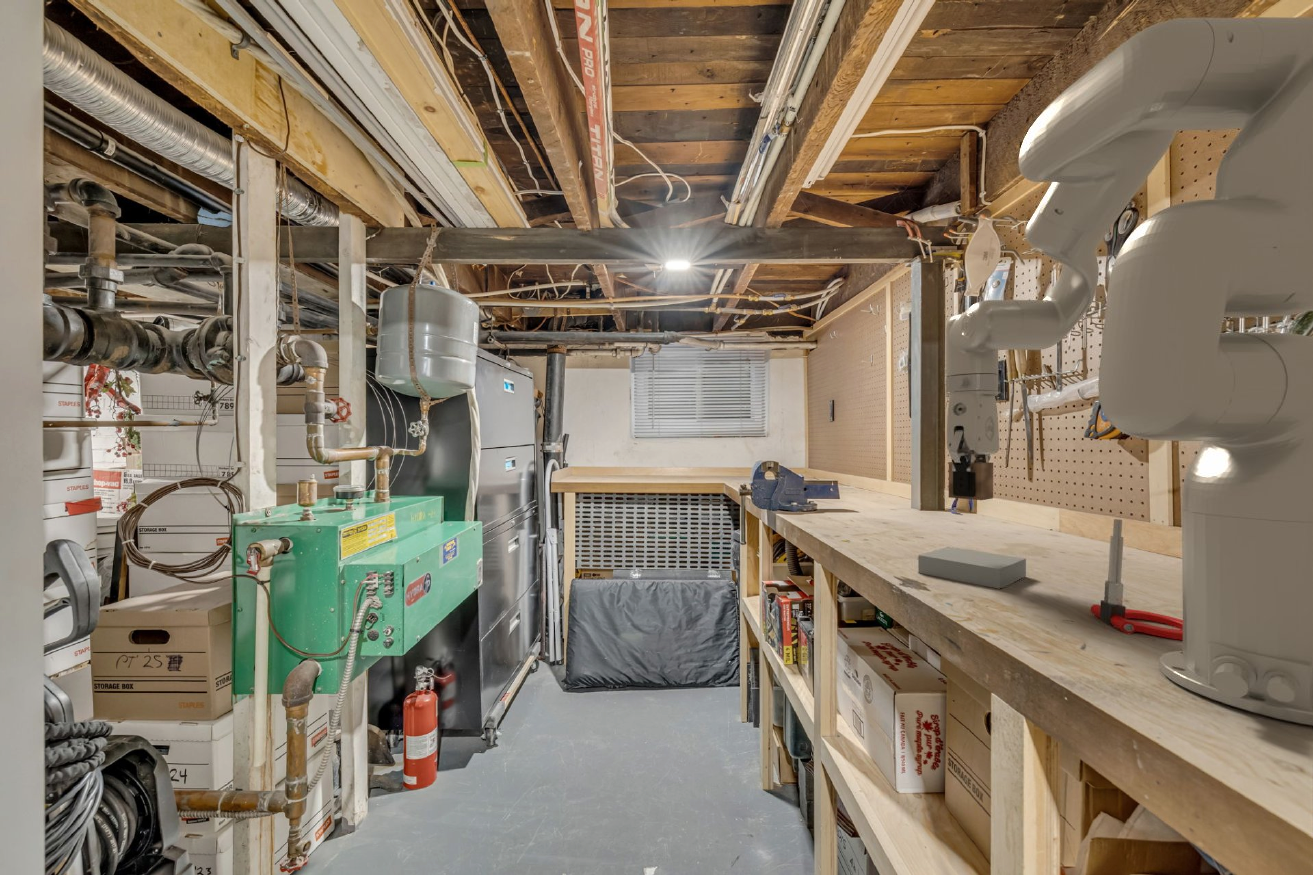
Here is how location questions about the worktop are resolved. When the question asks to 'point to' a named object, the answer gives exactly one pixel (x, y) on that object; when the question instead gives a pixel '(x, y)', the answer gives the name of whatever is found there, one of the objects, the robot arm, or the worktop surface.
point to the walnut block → (977, 481)
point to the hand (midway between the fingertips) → (970, 494)
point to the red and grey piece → (1112, 602)
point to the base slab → (972, 566)
